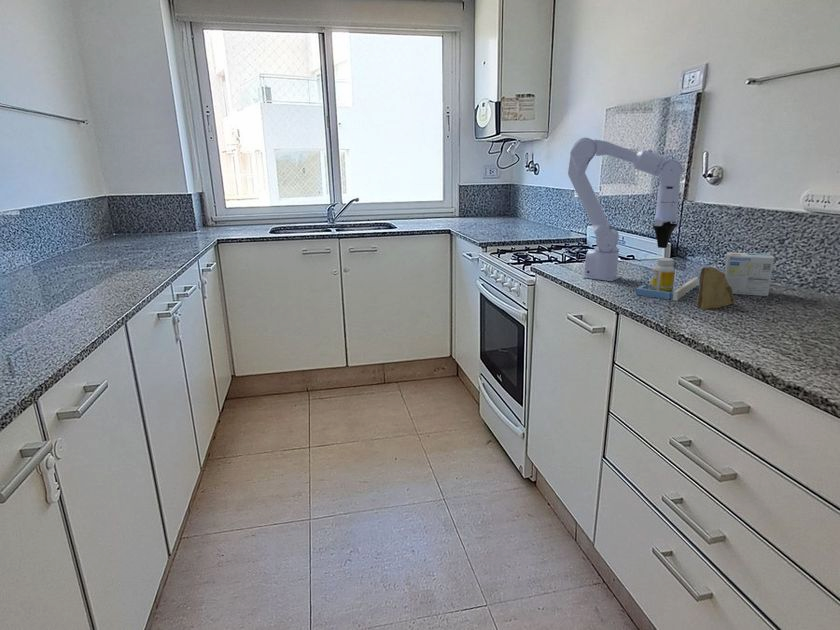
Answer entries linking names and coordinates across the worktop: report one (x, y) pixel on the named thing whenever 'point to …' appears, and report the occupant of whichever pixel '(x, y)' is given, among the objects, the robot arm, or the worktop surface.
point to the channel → (666, 295)
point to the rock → (713, 289)
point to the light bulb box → (749, 273)
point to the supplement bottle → (663, 275)
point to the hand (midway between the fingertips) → (662, 247)
